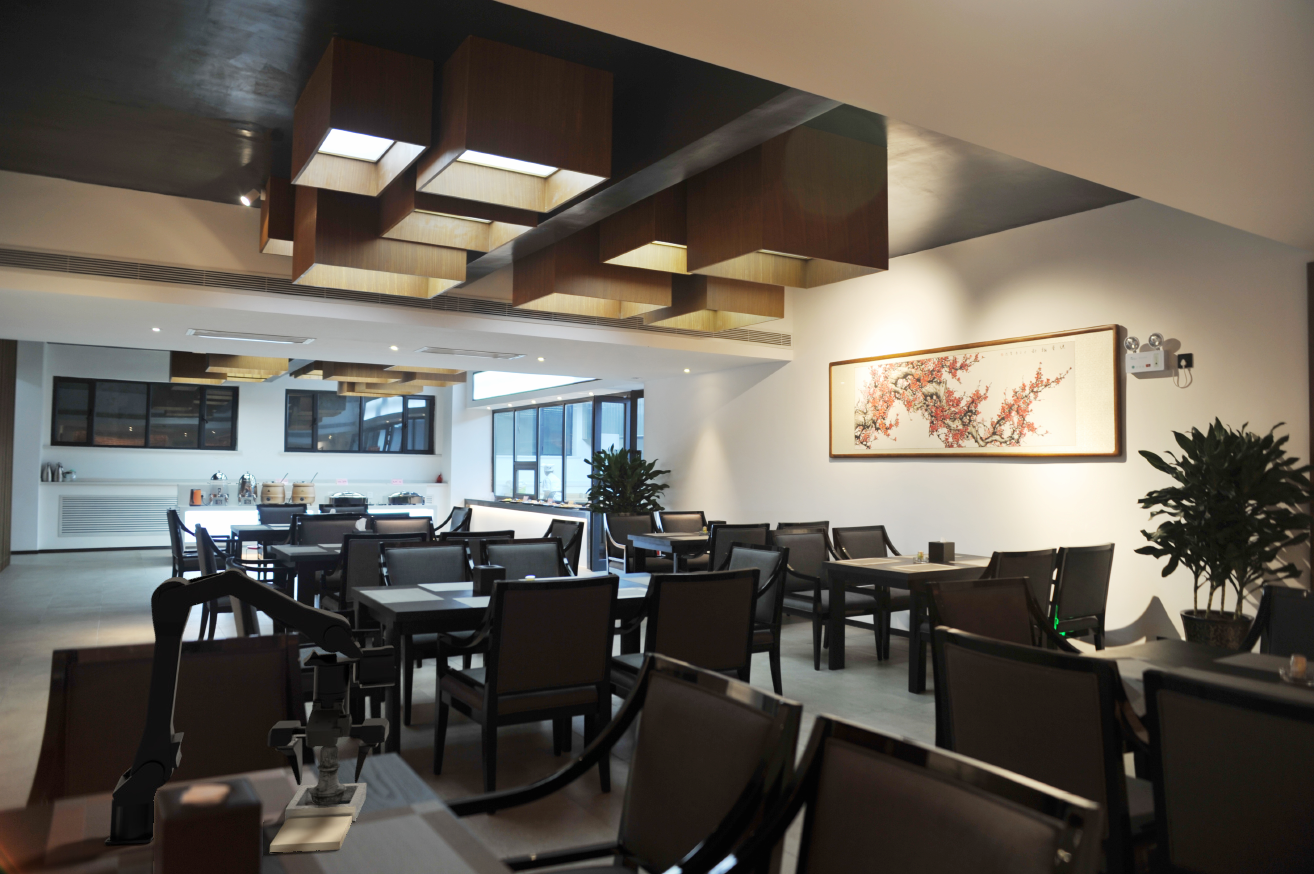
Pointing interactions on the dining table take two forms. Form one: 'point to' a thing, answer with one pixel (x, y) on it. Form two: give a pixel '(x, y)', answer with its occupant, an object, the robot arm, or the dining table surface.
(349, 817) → the wooden square board
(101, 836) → the dining table surface
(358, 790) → the grey square frame
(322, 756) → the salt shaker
